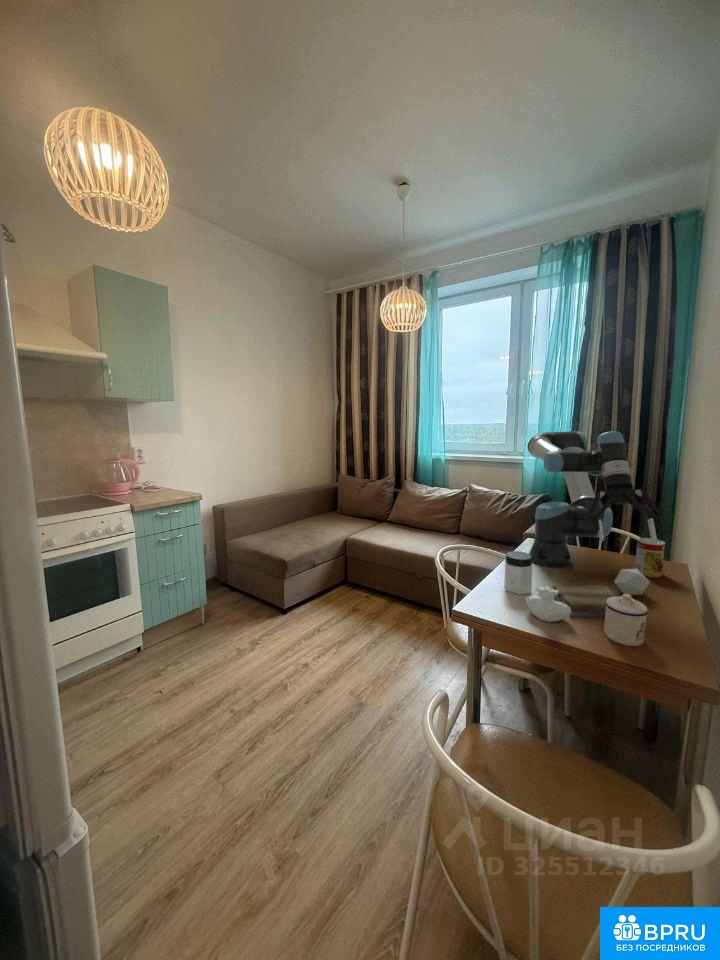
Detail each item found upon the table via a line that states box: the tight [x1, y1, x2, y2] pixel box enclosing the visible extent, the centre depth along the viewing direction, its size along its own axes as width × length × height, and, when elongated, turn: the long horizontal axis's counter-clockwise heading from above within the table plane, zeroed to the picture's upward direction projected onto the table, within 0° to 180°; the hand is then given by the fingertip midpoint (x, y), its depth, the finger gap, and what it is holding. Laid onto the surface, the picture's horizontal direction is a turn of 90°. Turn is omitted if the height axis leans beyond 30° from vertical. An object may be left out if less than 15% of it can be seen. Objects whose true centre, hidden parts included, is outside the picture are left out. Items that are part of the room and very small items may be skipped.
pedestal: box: [552, 584, 619, 618], centre depth 117 cm, size 16×18×3 cm
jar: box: [503, 550, 533, 595], centre depth 128 cm, size 9×8×12 cm
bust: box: [524, 585, 571, 623], centre depth 109 cm, size 12×8×11 cm
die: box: [613, 568, 650, 596], centre depth 123 cm, size 8×9×10 cm
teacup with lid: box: [603, 593, 649, 647], centre depth 100 cm, size 12×9×12 cm
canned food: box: [634, 537, 666, 578], centre depth 138 cm, size 8×8×12 cm
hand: (627, 540), depth 118 cm, fingers open, 13 cm apart
